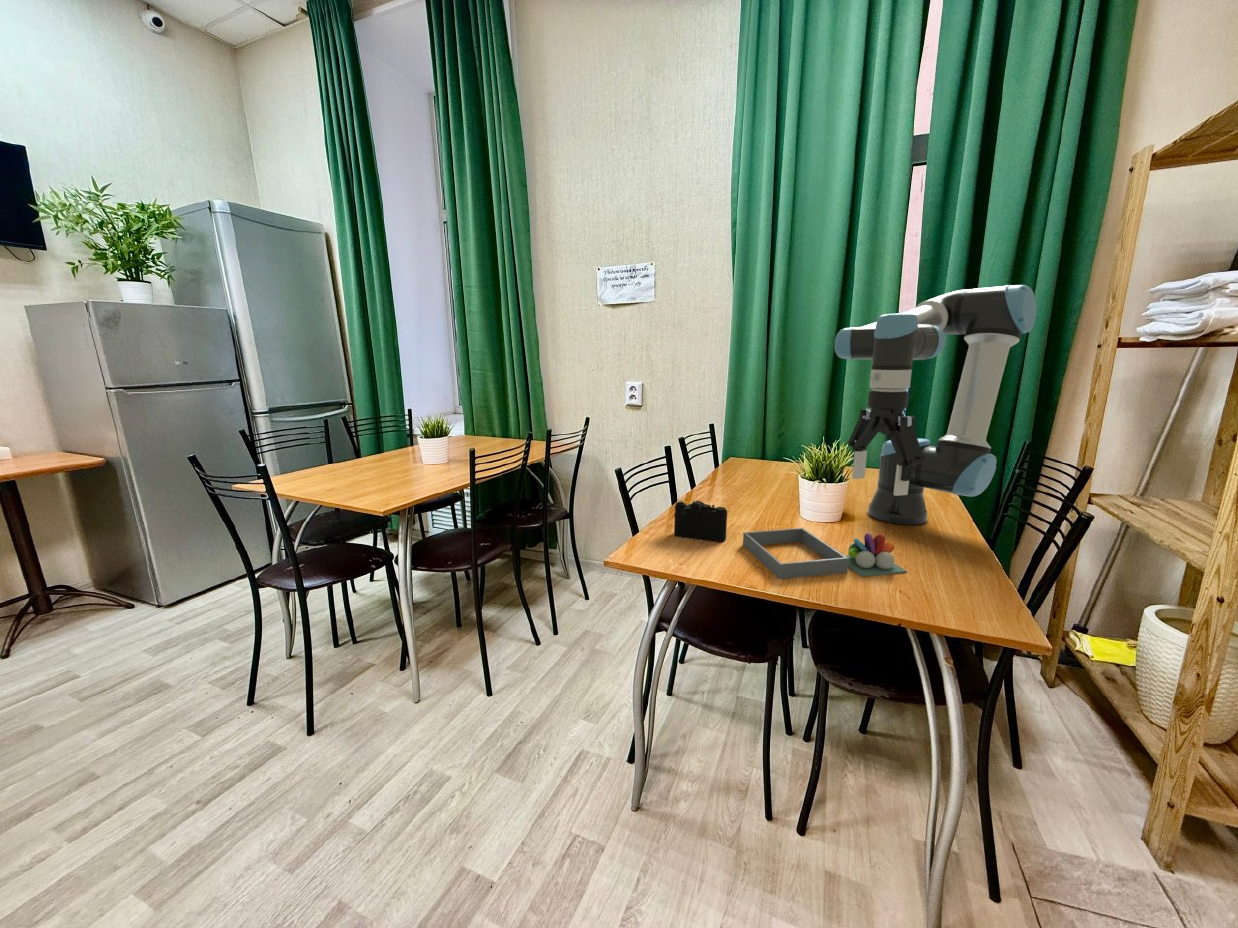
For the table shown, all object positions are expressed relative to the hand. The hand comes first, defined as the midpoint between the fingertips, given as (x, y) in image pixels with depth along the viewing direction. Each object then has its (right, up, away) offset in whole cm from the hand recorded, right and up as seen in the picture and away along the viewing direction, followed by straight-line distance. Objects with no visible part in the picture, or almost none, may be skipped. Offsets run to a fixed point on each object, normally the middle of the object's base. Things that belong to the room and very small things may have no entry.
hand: (878, 486), depth 108 cm
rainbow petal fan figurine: (0, -18, +4) cm, 19 cm away
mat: (0, -18, +4) cm, 19 cm away
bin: (-16, -18, +8) cm, 25 cm away
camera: (-35, -14, +24) cm, 45 cm away
